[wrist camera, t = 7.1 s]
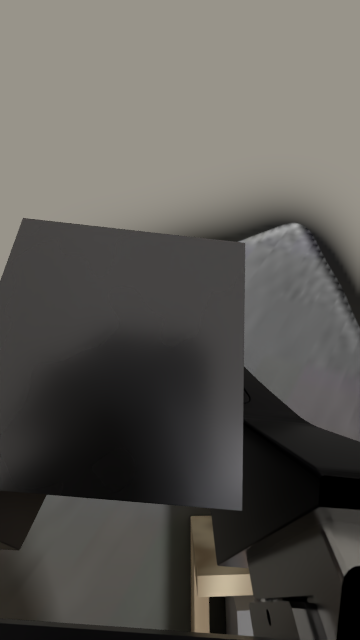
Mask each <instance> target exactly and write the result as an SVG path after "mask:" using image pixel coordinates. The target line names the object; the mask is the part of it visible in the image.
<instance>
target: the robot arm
mask: <svg viewBox="0 0 360 640" xmlns="http://www.w3.org/2000/svg"><path fill="white" fill-rule="evenodd" d="M46 495H47V494H35V493H23V492H11V491H0V549H6V550H20V548H21V546H22V544H23V542H24V540H25V538H26V536H27V534H28V532H29V530H30V528H31V526H32V524H33V522H34V520H35V518H36V516H37V514H38V511H39V509H40V507H41V505H42V503H43V501H44V499H45V497H46ZM211 517H212V526H213V535H214V543H215V552H216V560H217V565H218V566H226V567H239V568H249V574H250V580H251V586H252V591H253V597H254V602H249V610H250V616H251V623H252V629H253V636H243V635H228V634H214V633H200V632H185V631H171V630H157V629H143V628H128V627H114V626H100V625H85V624H71V623H57V622H43V621H28V620H14V619H0V640H360V442H358V441H356V440H353V439H350V438H347V437H344V436H341V435H338V434H336V433H333V432H330V431H327V430H324V429H321V428H319V427H316V426H314V425H312V424H310V423H309V422H307V421H305V420H304V419H302V418H301V417H300V416H298V415H297V414H296V413H295V412H293V411H292V410H291V409H290V408H289V407H288V406H287V405H285V404H284V403H283V402H282V401H281V400H280V399H279V398H277V397H276V396H275V395H274V394H273V393H272V392H271V391H269V390H268V389H267V388H266V387H265V386H264V385H263V384H262V383H260V382H259V381H258V380H257V379H256V378H255V377H254V376H253V375H252V374H251V373H250V372H249V371H248V370H247V369H246V368H245V367H244V389H243V479H242V511H239V510H227V509H215V508H211Z"/></svg>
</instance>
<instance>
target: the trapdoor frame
mask: <svg viewBox="0 0 360 640" xmlns="http://www.w3.org/2000/svg"><path fill="white" fill-rule="evenodd" d="M243 595H253V591H252V586H251V580H250V574H249V568H239V567H226V566H218V565H217V560H216V552H215V543H214V535H213V526H212V517H211V516H191V632H200V633H210V630H209V597H218V596H243Z"/></svg>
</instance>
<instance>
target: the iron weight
mask: <svg viewBox="0 0 360 640" xmlns="http://www.w3.org/2000/svg"><path fill="white" fill-rule="evenodd" d="M244 298H245V243H241V242H232V241H223V240H214V239H205V238H196V237H187V236H178V235H169V234H160V233H151V232H142V231H134V230H125V229H115V228H107V227H98V226H88V225H80V224H71V223H61V222H53V221H43V220H35V219H26V218H23V220H22V223H21V225H20V228H19V231H18V234H17V236H16V239H15V242H14V245H13V247H12V250H11V253H10V256H9V258H8V261H7V264H6V267H5V270H4V273H3V275H2V278H1V281H0V491H11V492H23V493H35V494H47V495H59V496H71V497H83V498H95V499H107V500H119V501H131V502H143V503H155V504H167V505H179V506H191V507H203V508H215V509H227V510H239V511H242V479H243V389H244Z"/></svg>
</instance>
